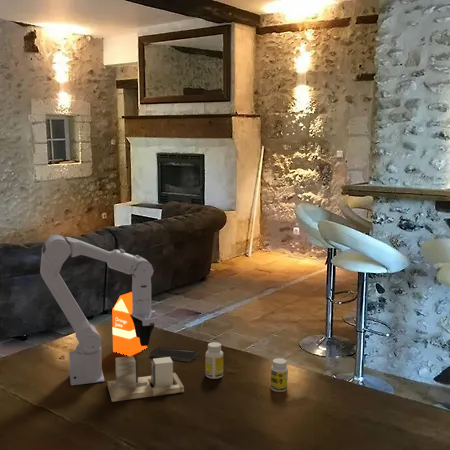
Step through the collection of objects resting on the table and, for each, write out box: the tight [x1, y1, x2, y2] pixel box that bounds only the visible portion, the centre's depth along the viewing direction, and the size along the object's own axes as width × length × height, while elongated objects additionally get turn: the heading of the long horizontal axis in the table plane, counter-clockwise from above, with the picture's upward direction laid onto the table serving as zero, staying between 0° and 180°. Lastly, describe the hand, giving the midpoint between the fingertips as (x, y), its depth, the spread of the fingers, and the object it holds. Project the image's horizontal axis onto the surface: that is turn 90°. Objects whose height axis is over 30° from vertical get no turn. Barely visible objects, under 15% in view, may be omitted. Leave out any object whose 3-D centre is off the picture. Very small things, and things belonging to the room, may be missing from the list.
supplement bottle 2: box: [270, 357, 289, 393], centre depth 155 cm, size 5×5×8 cm
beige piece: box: [107, 355, 185, 402], centre depth 154 cm, size 20×10×10 cm, turn 109°
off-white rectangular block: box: [150, 357, 174, 388], centre depth 156 cm, size 6×4×8 cm
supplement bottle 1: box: [205, 341, 224, 380], centre depth 164 cm, size 5×5×10 cm
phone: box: [149, 346, 199, 363], centre depth 180 cm, size 8×1×15 cm
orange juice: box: [111, 291, 148, 357], centre depth 183 cm, size 8×9×20 cm
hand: (142, 341), depth 166 cm, fingers open, 7 cm apart
